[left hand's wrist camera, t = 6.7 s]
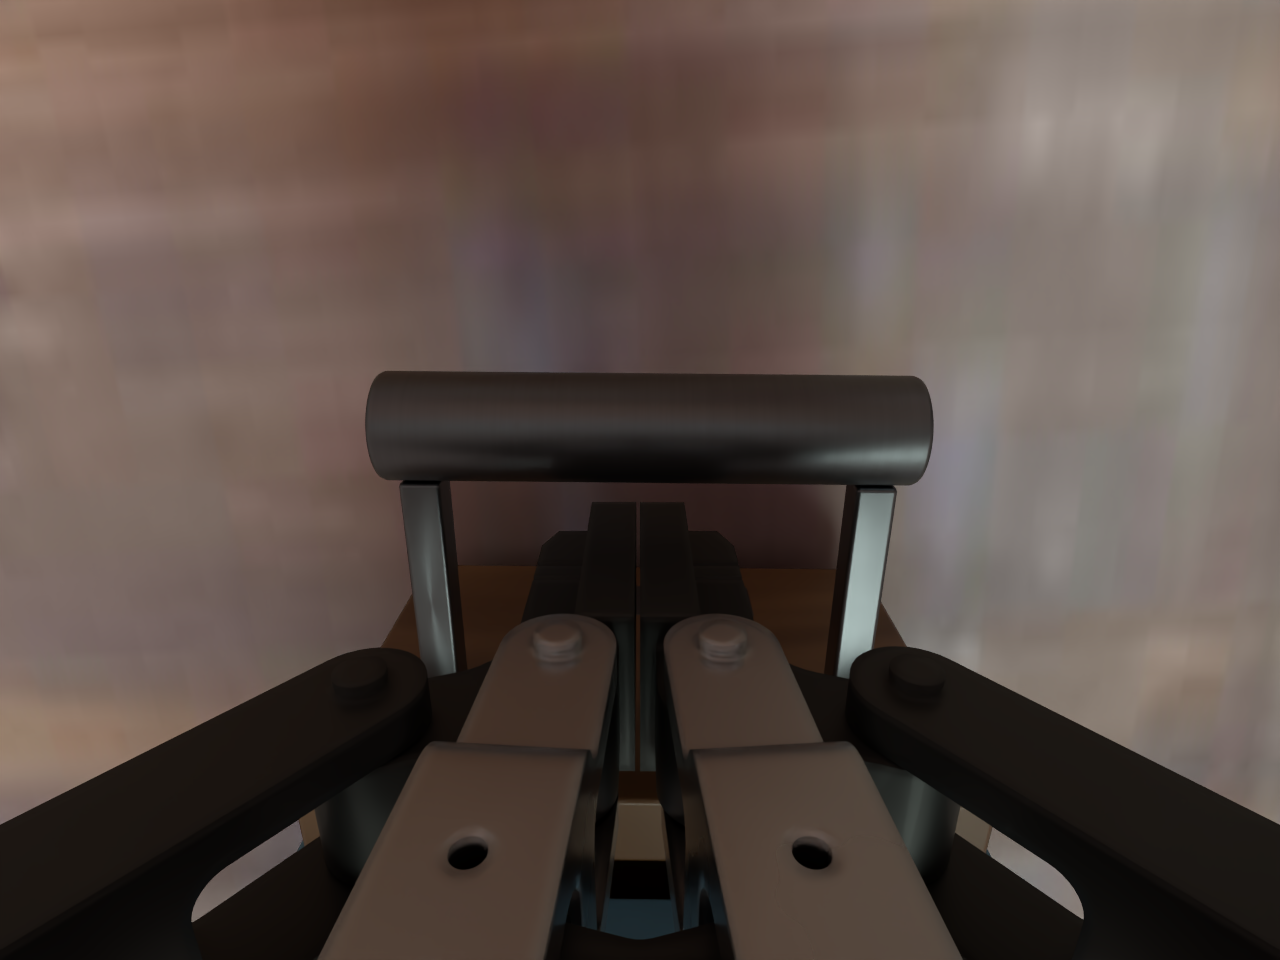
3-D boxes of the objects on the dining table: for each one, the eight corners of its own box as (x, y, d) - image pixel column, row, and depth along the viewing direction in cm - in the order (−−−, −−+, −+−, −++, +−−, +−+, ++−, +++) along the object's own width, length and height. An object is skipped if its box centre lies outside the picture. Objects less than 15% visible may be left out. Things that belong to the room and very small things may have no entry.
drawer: (400, 317, 15) (207, 414, 8) (896, 321, 15) (1095, 422, 8) (486, 1088, 24) (427, 1422, 17) (792, 1093, 24) (846, 1429, 17)
